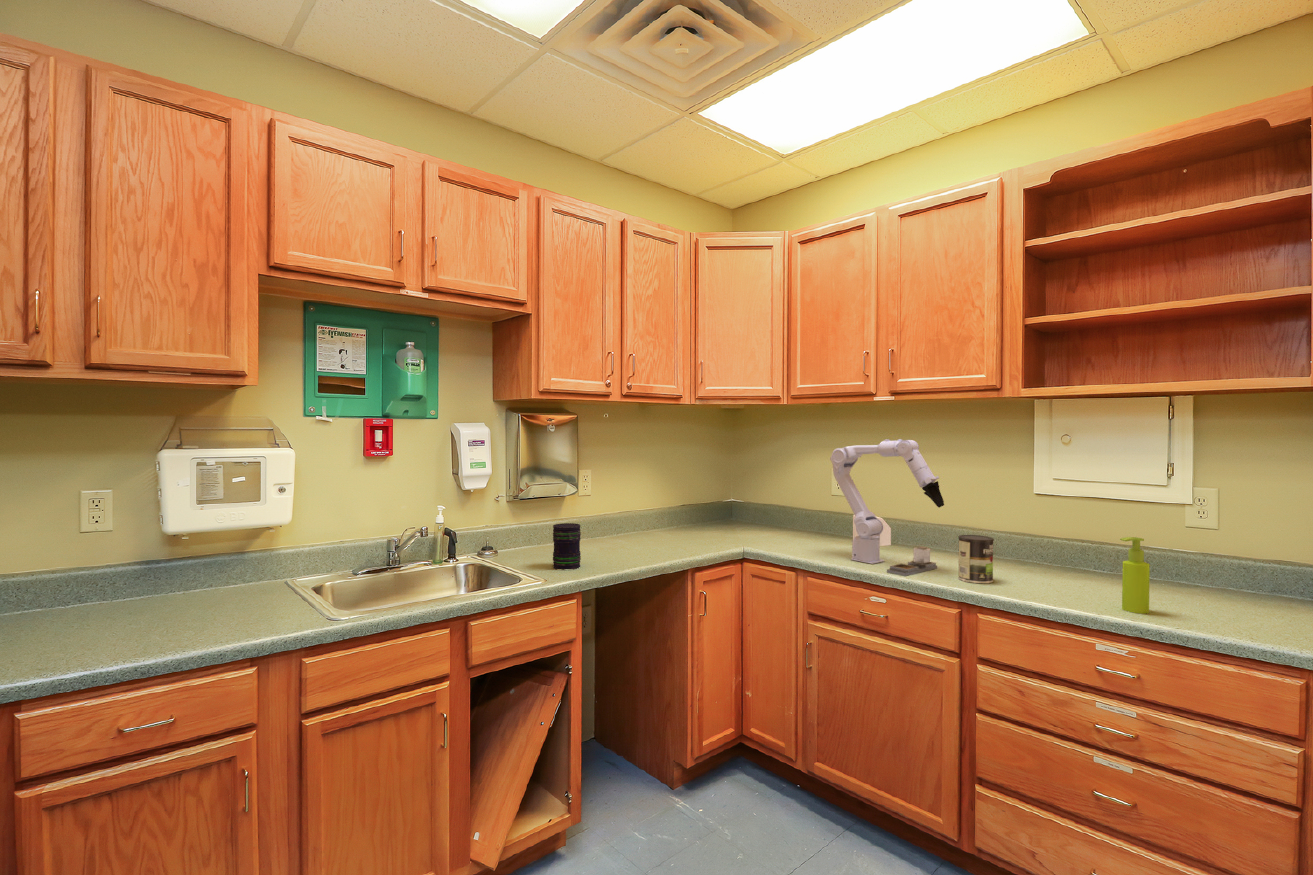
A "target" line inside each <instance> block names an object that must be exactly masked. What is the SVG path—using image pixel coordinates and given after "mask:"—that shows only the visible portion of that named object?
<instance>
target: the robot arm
mask: <svg viewBox="0 0 1313 875" xmlns="http://www.w3.org/2000/svg"><path fill="white" fill-rule="evenodd" d="M919 446H920V445H919V444H918V442H917V441H915V440H912V439H902V438H898V439H897V440H890V439H889V438H888V439H884V440H882V441H881V442H880V443H879V444H870V445H868V444H864V445H863V444H859V445H858V444H857V445H850V446H849V445H848V446H843V447H842V448H841V447H838V448H837V447H836V448H834V450H833V451H832V453H831V456H830V461H831V463H832V472H833V473H832V474H833V476H834V479H835V480H836V482H837V484H838V486H839V488H840V490H841V492H842V494H843V496H844V497H845V499H846V501H847V503H848V505H849V507H850V509H851V511H852V513H853V515H855V519H854V523H855V525H856V531H857V534H858V535H859V536H856V537H855V538H854V539H853V538H852V546H851V548H852V551H851V556H852V557H851V558H850V560H851V561H855V562H862V563H866V564H871V565H872V564H873V565H874V564H877V563H883V562H885V559H882V558H880V555H881V551H880V549H881V546H880V534H881V533H882V531H883V524H882V522H881V521H880V520H879V519H878V518H877V517H878V516H876V514H875V513H874V512H872V511H871V510H870V509H869V508H868V506H867V504H866V502H865V500H864V499H863V496H862V495H861V493H860V492H859V489H858V488H857V487H858V486H856V484H855V482H854V480H853V479H852V476H851V474H850V473H851V470H852V469H853V467H854V466H855V464H856V463H857V461H858V459H859V458H861V457H862V455H869V454H879V455H880V456H881V457H883V458H887V457H902V458H903V459H904V461H905V463H906V465H907V467H908V468H909V470H910V471H911V473H912V474H913V475H912V476H913V477H914V478H915V480H916V482H917V484H918V486H919V488H921V490H922V491H924V492H923V494H924V495H925V496H927V498H930V501H932V502H933V504H934V505H935V506H936V507H937V508H941V507H943V506H945V500H944V498H943V496H942V493H941V490H940V485H939V481H938V479H940V477H939V475H936V476H935V475H934V473H933V472H932V470H931V468H930V467H929V465H928V464H927V462H926V460H925V458H924V457H923V455H922V454H921V452H920V447H919Z"/></svg>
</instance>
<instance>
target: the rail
mask: <svg viewBox="0 0 1313 875" xmlns="http://www.w3.org/2000/svg"><path fill="white" fill-rule="evenodd" d="M936 569H938V565H937V562H934V561H933V562H932V561H930V564H926V565H923V564H918V563H913V560H911V561H907V564H906V563H905V564H904V563H898V564H894V565H892V564H891V565H889V568H887V569H886V573H888V574H894V575H898V576H903V577H907V576H912V575H915V574H916V575H917V574H920V573H924V572H928V571H929V572H930V571H933V570H936Z"/></svg>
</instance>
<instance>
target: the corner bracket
mask: <svg viewBox="0 0 1313 875" xmlns="http://www.w3.org/2000/svg"><path fill="white" fill-rule="evenodd" d="M876 517H877V518H878V519H879V520H880V521H881V522H882V524H883V531H882V533H881V534H880V547H881V546H883V547H884V546H886V547H887V546H892V542H891V541H892V528H891V527H890V525H889V524H888V523H887V522H886V521H885V519H884V518H883V517H879V516H876ZM854 519H855V514H853V515H852V540H853V539H854V538H855V537H856V536H859V535H858V534H857V531H856V525H855V523H854Z"/></svg>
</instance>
